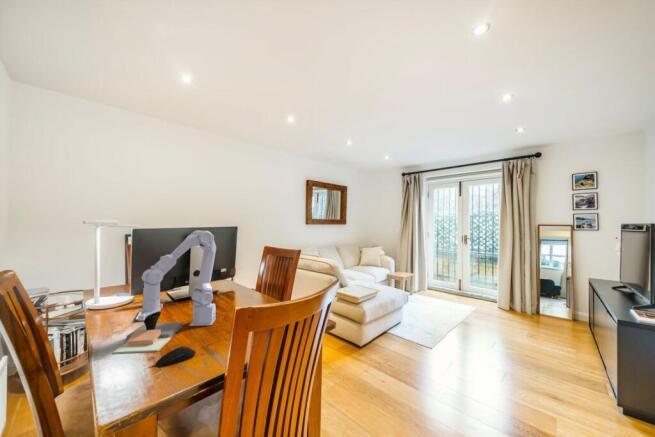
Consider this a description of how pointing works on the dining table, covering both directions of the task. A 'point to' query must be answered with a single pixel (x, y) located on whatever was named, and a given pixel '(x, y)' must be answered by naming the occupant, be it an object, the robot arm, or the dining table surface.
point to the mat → (142, 347)
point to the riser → (162, 329)
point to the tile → (144, 337)
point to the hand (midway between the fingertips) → (150, 331)
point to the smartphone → (137, 317)
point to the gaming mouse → (175, 356)
